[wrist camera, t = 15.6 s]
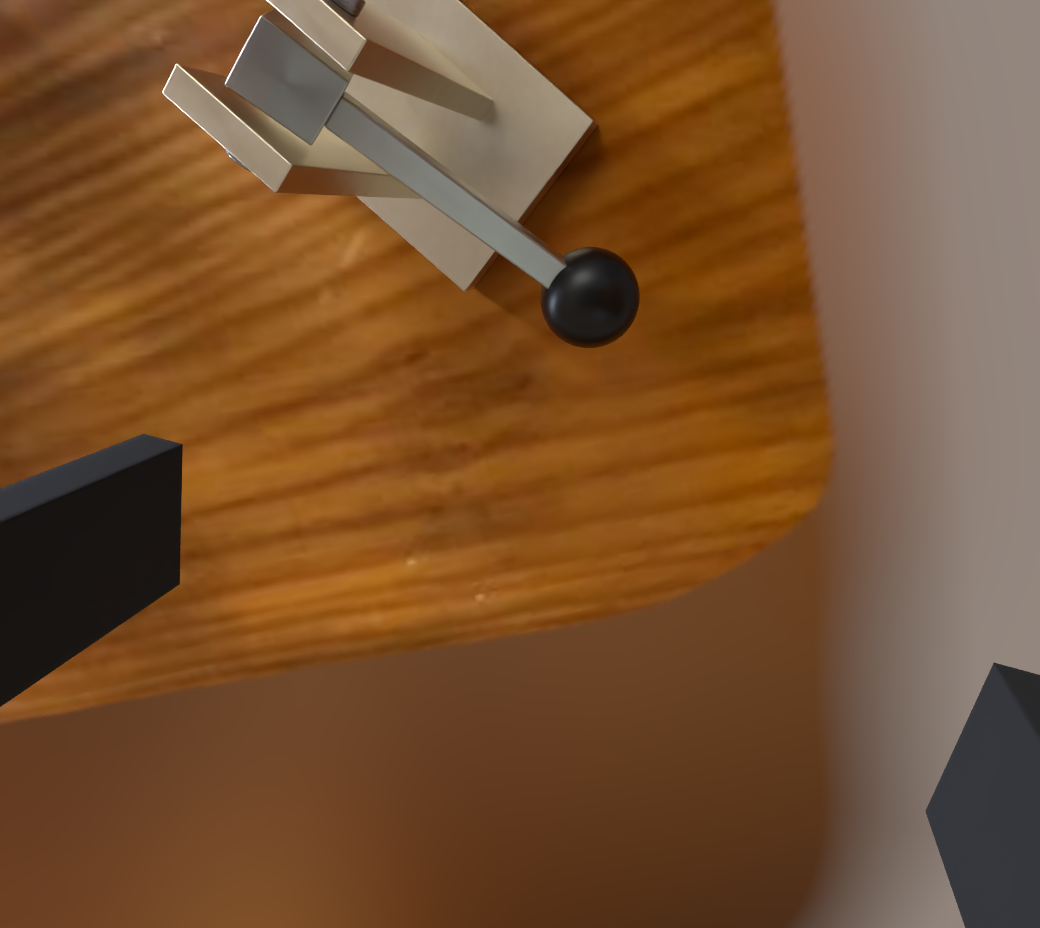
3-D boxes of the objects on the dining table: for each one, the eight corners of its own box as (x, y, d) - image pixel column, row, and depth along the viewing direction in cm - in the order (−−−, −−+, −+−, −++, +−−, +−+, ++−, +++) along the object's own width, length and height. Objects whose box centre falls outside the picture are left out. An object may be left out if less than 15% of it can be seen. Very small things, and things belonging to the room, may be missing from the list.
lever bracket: (598, 124, 33) (520, 67, 20) (473, 289, 36) (337, 331, 23) (385, -67, 32) (166, -247, 20) (279, 118, 36) (35, 66, 23)
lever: (646, 270, 30) (671, 306, 27) (585, 340, 31) (603, 382, 28) (288, -15, 23) (269, -8, 20) (232, 89, 25) (207, 109, 22)
